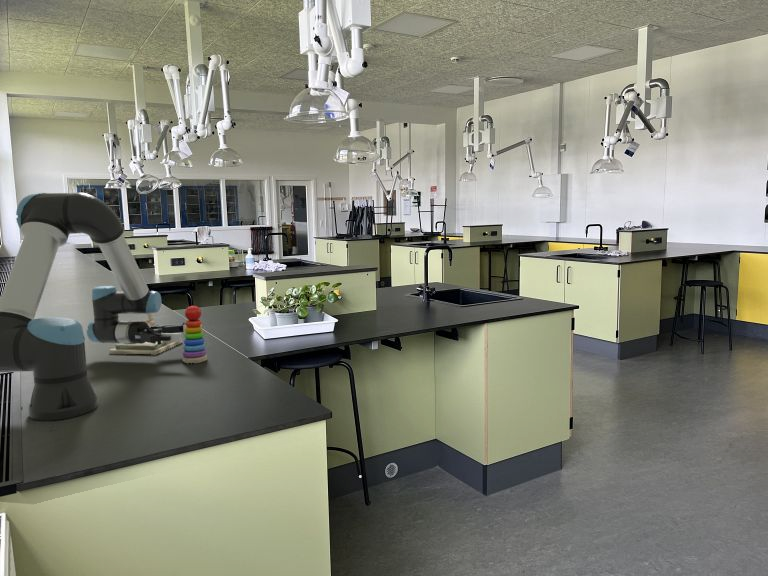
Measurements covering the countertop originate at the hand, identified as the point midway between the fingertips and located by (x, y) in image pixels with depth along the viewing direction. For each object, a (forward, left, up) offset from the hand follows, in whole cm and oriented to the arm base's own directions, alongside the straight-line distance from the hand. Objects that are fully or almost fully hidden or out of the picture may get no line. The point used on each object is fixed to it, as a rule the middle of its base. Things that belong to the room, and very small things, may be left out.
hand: (191, 333), depth 186 cm
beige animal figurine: (+45, +49, -10) cm, 67 cm away
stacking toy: (-1, -1, -10) cm, 10 cm away
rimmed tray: (+14, +26, -9) cm, 31 cm away
